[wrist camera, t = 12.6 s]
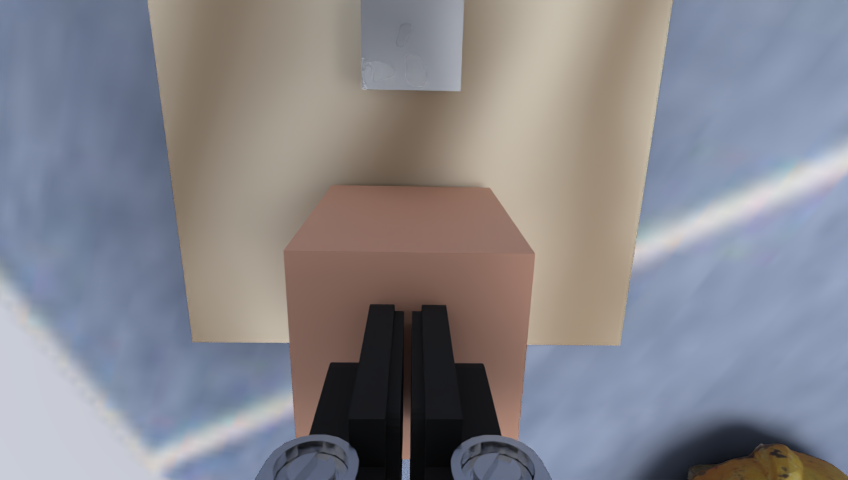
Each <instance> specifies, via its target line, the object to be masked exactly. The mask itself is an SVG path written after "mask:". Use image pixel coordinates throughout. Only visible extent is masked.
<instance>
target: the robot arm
mask: <svg viewBox="0 0 848 480" xmlns="http://www.w3.org/2000/svg"><path fill="white" fill-rule="evenodd" d="M403 385H404V311H395V305H394V304H370V306H369V312H368V317H367V322H366V327H365V333H364V338H363V343H362V349H361V354H360V359H359V362H331V363H330V365H329V368H328V371H327V374H326V378H325V381H324V385H323V388H322V392H321V395H320V399H319V402H318V406H317V409H316V412H315V416H314V419H313V423H312V426H311V430H310V433H309V435H308V436H303V437H298V438H296V439H293V440H291V441H289V442H286V443H284V444H283V445H282V446H280V447H279V448H277V449H276V450H275V451H274V452H273V453H272V454H271V455H270V456H269V458H268V459H267V460H266V461H265V463H264V465H263V466H262V468H261V470H260V471H259V473H258V475H257V477H256V478H255V480H402V448H403ZM410 480H552V478H551V477H550V475H549V473H548V471H547V469H546V467H545V466H544V464H543V462H542V460H541V459H540V458H539V457H538V455H537V454H536V453H535V451H533V450H532V449H531V448H529V447H528V446H527V445H525V444H524V443H521V442H519V441H517V440H515V439H512V438H509V437H504V436H502V435H501V431H500V427H499V423H498V419H497V415H496V411H495V406H494V402H493V398H492V394H491V390H490V386H489V382H488V378H487V374H486V370H485V366H484V364H483V363H455V362H454V356H453V349H452V342H451V335H450V328H449V321H448V314H447V307H446V305H422V307H421V311H412V344H411V416H410Z"/></svg>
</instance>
